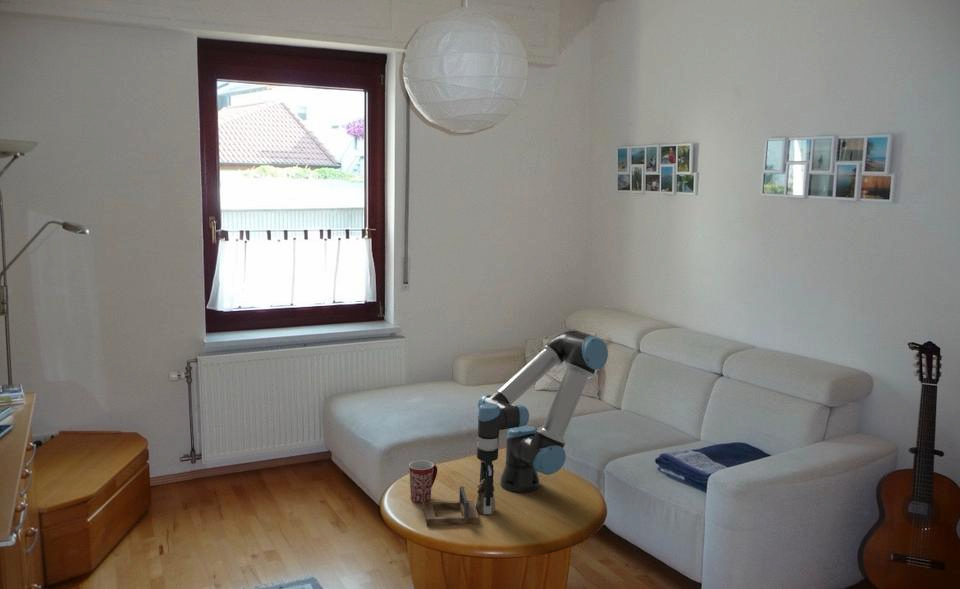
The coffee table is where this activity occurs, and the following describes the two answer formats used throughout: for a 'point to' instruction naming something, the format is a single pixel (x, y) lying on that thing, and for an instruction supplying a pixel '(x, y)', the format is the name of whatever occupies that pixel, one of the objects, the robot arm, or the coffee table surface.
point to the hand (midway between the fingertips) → (485, 508)
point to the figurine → (481, 499)
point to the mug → (421, 480)
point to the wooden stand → (463, 504)
